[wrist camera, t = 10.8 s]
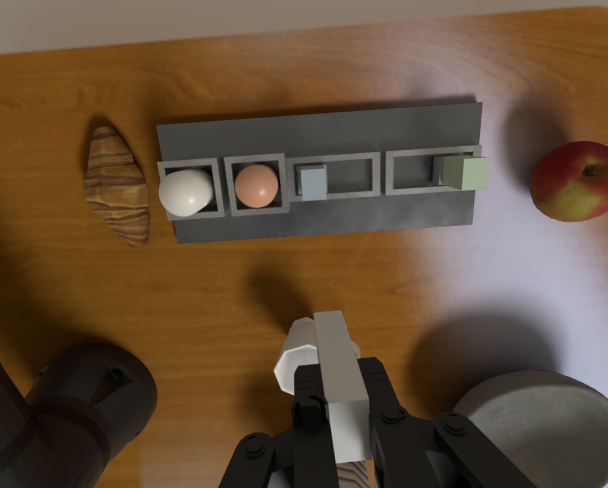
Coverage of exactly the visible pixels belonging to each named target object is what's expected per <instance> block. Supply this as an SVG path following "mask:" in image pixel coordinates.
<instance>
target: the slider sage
mask: <svg viewBox="0 0 608 488" xmlns="http://www.w3.org/2000/svg"><path fill="white" fill-rule="evenodd" d="M488 163H489V157H478V156H470V155H449V156H434V157H433V179H432V183H434V184H437V185H445V186H449V187H452V188H455V189H458V190H462V191H463V190H478V189H486V184H487V173H488Z"/></svg>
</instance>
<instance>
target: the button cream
mask: <svg viewBox="0 0 608 488" xmlns="http://www.w3.org/2000/svg"><path fill="white" fill-rule="evenodd" d="M159 197H160V201H161V203H162V205H163V206H164V207H165V208H166V209H167V210H168V211H169V212H170V213H172V214H174V215H177V216H190V215H192V214H194V213H196V212H197V211H199V210H200V209H202V208H203V207H205V206H206V205H208V204H209V203H210V202H211V201H212V200H213V199H214V197H215V186H214V180H213V178H212V177H211V176H210V175H209V174H208V173H207V172H206V171H204V170H201V169H197V168H192V169H187V170H183V171H179V172H174V173H171V174H169V175H167V176H166V177H165V178H164V179H163V180H162V182H161V184H160V186H159Z"/></svg>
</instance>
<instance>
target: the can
mask: <svg viewBox="0 0 608 488" xmlns="http://www.w3.org/2000/svg"><path fill="white" fill-rule="evenodd" d="M336 466H337V473H338V480H339V487H340V488H370V486H369V481H368V476H367V470H366V465H365V460H363V461H354V462H344V463H336Z"/></svg>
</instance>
